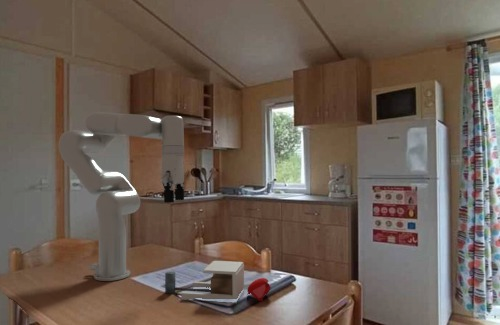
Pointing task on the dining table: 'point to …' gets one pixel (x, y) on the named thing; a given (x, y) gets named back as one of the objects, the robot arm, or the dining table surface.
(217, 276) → the knobbed lever joystick
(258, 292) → the cap
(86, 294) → the dining table surface
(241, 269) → the lever switch box
